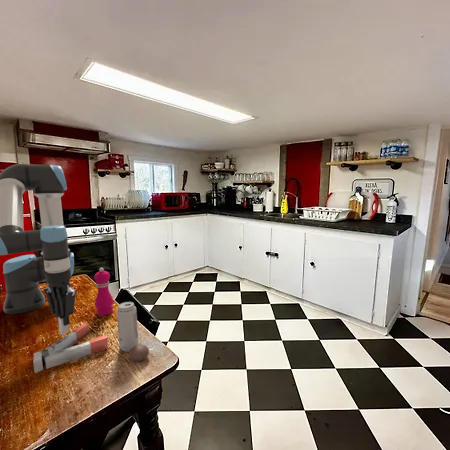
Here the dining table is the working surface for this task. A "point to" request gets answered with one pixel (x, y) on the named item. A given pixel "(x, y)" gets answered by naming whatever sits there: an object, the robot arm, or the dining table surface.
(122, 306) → the energy drink can
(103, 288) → the pepper mill
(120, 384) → the dining table surface
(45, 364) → the tongs fixed
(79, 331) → the tongs arm
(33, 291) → the robot arm
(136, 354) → the egg
